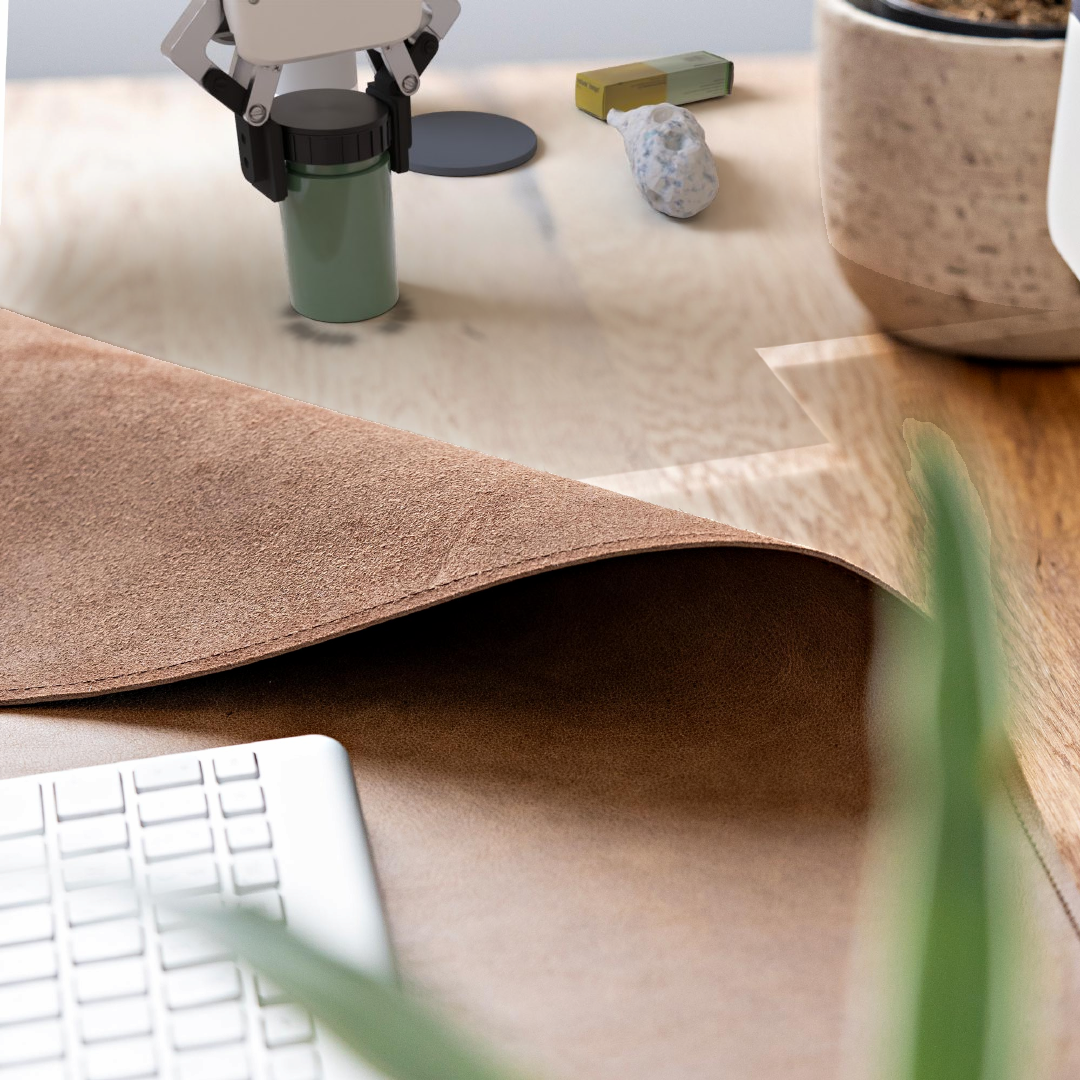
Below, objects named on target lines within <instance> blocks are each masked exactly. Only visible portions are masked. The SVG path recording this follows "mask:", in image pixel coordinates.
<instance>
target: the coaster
mask: <svg viewBox="0 0 1080 1080" xmlns="http://www.w3.org/2000/svg"><path fill="white" fill-rule="evenodd" d="M411 124H412V146H411V148H410V149H408V150H409V171H412V172H416V173H420V174H426V175H427V174H428V175H433V176H443V177H445V176H446V177H447V176H448V177H468V176H469V177H470V176H481V175H490V174H493V173H494V174H495V173H499V172H503V171H507V170H509V169H513V168H515V167H518V166H520V165H522V164H524V163H526V162H528V161H529V160H530V159H532V157H533V156H534V155H535V154H536V152H537V149H538V148H537V147H538V136H537V134H536V132H535V131H534V130H533V129H532V128H531V127H530V126H529V125H527V124H525V123H524V122H521V121H520V120H517V119H514V118H512V117H509V116H505V115H501V114H496V113H492V112H484V111H474V110H446V111H445V110H444V111H432V112H426V113H421V114H416V115H413V116H412V115H411Z"/></svg>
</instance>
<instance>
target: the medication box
mask: <svg viewBox="0 0 1080 1080" xmlns="http://www.w3.org/2000/svg"><path fill="white" fill-rule="evenodd" d="M734 63H735V62H733V61H731V60H729V59H727V58H724V57H722V56H720V55H716V54H714V53H711V52H708V51H706V50H697V51H692V52H687V53H681V54H674V55H670V56H664V57H660V58H659V57H658V58H654V59H648V60H642V61H637V62H631V63H626V64H620V65H614V66H610V67H605V68H598V69H593V70H588V71H583V72H577V73H576V75H575V86H574V103H575V107H576V108H578V109H579V110H581V111H583V112H584V113H587V114H588V115H590V116H592V117H595V118H597V119H599V120H602V121H607V115H608V113H609V111H610V110H611V109H612V108H614V109H616V110H620V111H623V112H628V111H630V110H633V109H637V108H639V107H642V106H646V105H658V104H661V103H669V104H671V105H674V106H679V105H683V104H688V103H693V102H698V101H703V100H707V99H712V98H717V97H722V96H727V95H728V96H731V95H732V91H733V87H734V82H735V81H734V80H735V65H734Z"/></svg>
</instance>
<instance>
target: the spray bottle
mask: <svg viewBox="0 0 1080 1080" xmlns="http://www.w3.org/2000/svg"><path fill="white" fill-rule="evenodd" d="M321 88H334V89H348V90H355V91H359V82H358V66H357V52H351V53H346V54H340V55H335V56H329V57H323V58H318V59H312V60H306V61H300V62H294V63H288V64H283V67H282V71H281V74H280V78H279V82H278V85H277V89H276V92H275V96H274V97H276V96H279V95H282V94H285V93H289V92H294V91H299V90H307V89H321Z"/></svg>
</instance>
